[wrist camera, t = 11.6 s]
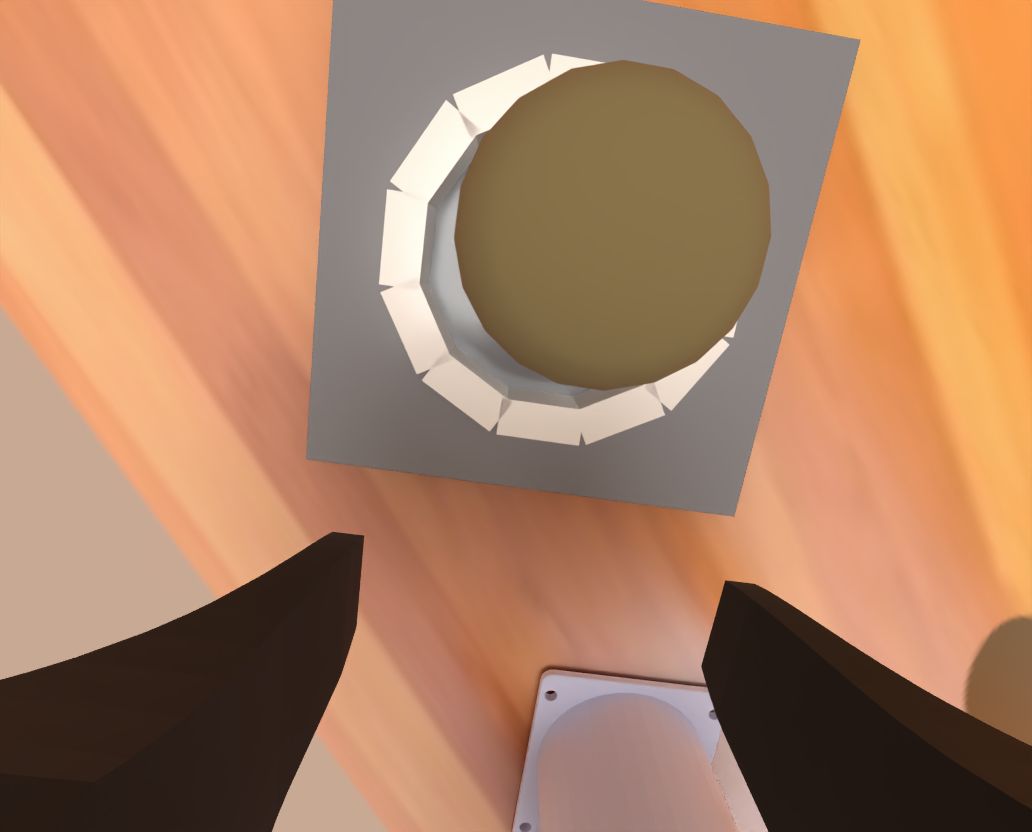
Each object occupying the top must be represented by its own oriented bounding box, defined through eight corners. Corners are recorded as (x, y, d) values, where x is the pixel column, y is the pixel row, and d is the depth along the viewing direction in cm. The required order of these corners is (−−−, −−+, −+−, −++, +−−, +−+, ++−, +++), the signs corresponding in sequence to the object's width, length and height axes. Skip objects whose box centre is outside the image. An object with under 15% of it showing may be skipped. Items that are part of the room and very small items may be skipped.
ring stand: (725, 508, 22) (757, 541, 19) (313, 452, 21) (284, 478, 18) (844, 49, 18) (905, 10, 15) (344, -41, 17) (313, -100, 14)
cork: (611, 368, 19) (737, 483, 9) (445, 315, 19) (367, 368, 8) (677, 194, 18) (919, 80, 7) (499, 130, 18) (488, -92, 7)
